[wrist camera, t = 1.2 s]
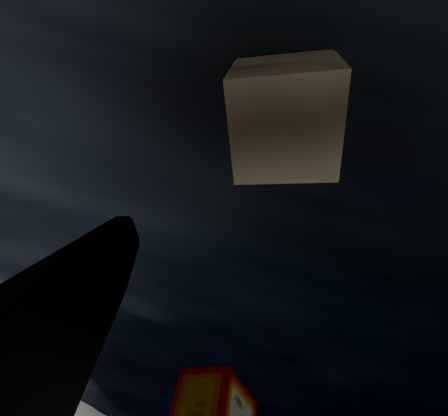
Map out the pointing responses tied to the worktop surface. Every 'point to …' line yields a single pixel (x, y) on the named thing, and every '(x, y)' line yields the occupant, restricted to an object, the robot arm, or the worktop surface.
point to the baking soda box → (211, 394)
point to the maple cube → (287, 117)
